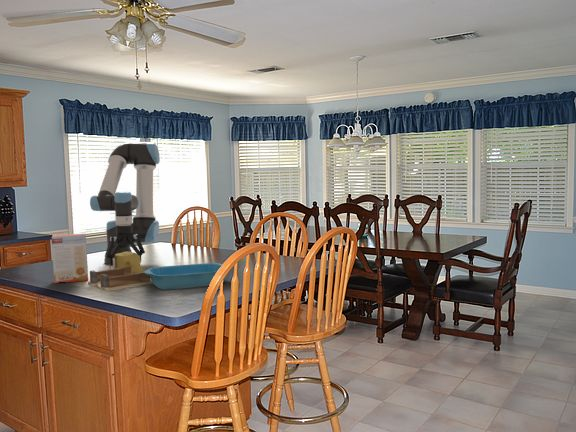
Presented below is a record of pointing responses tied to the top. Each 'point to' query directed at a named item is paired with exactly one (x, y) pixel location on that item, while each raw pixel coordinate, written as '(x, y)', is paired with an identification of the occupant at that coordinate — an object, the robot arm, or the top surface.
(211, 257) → the top surface
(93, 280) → the slot board
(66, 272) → the cracker box
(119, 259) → the cheese
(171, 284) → the casserole dish
